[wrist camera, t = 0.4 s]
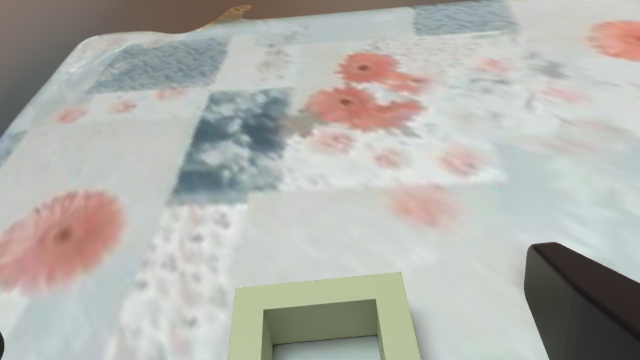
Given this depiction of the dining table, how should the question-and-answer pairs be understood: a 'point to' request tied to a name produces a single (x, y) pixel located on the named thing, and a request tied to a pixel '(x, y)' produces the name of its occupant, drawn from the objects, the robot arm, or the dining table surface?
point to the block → (323, 315)
